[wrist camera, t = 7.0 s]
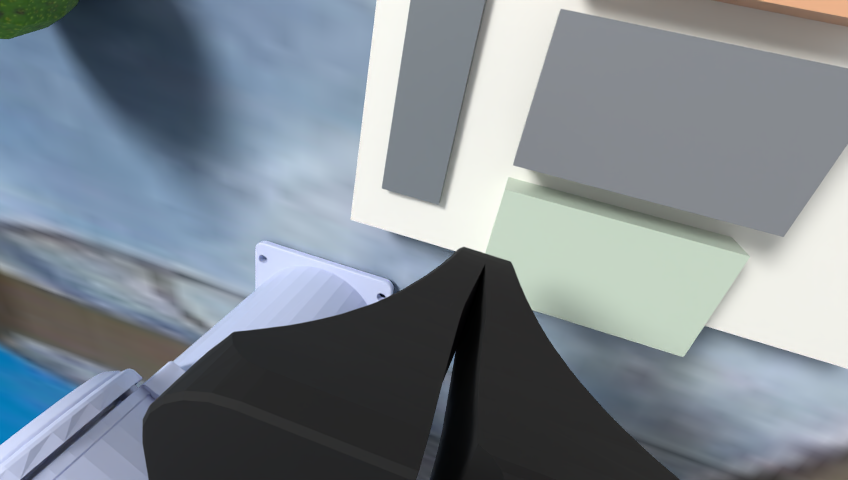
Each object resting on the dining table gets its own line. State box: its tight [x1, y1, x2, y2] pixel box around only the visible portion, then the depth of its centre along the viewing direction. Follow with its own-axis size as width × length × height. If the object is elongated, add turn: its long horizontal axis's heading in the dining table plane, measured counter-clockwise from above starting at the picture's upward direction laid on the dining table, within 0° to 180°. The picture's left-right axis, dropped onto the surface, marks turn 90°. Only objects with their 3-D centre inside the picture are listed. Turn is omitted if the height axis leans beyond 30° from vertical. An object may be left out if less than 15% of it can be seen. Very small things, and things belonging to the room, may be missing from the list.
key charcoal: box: [513, 9, 848, 237], centre depth 12 cm, size 4×8×2 cm, turn 79°
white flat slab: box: [351, 0, 848, 369], centre depth 14 cm, size 14×20×3 cm
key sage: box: [485, 177, 750, 357], centre depth 15 cm, size 4×8×2 cm, turn 79°
